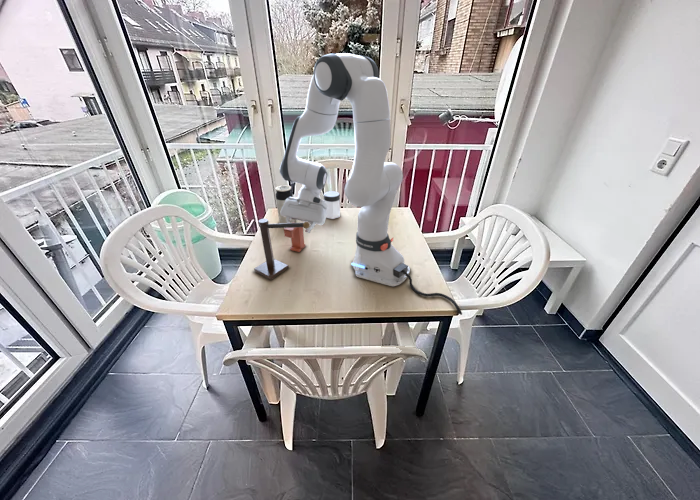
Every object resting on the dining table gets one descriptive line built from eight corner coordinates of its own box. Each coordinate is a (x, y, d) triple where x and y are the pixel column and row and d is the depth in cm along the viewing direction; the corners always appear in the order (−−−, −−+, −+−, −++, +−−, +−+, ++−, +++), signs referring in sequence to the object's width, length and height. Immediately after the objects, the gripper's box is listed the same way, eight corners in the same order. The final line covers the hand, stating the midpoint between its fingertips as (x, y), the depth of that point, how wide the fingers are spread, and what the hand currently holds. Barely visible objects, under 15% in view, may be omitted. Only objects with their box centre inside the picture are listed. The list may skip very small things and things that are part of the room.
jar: (334, 210, 156) (334, 189, 149) (343, 215, 150) (343, 194, 144) (320, 215, 151) (319, 193, 144) (329, 220, 146) (329, 198, 139)
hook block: (296, 244, 126) (294, 220, 119) (305, 246, 124) (303, 221, 118) (286, 253, 119) (282, 228, 113) (295, 256, 118) (292, 230, 111)
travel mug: (297, 218, 147) (293, 185, 137) (293, 225, 140) (289, 191, 131) (282, 217, 148) (277, 184, 138) (277, 224, 141) (272, 190, 131)
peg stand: (251, 281, 104) (240, 230, 92) (257, 261, 114) (248, 213, 103) (312, 278, 106) (308, 227, 94) (313, 258, 116) (309, 211, 105)
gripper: (283, 193, 122) (273, 223, 120) (326, 200, 116) (315, 232, 113) (290, 199, 128) (280, 227, 126) (331, 206, 122) (321, 237, 119)
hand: (297, 230), depth 120 cm, fingers open, 8 cm apart
